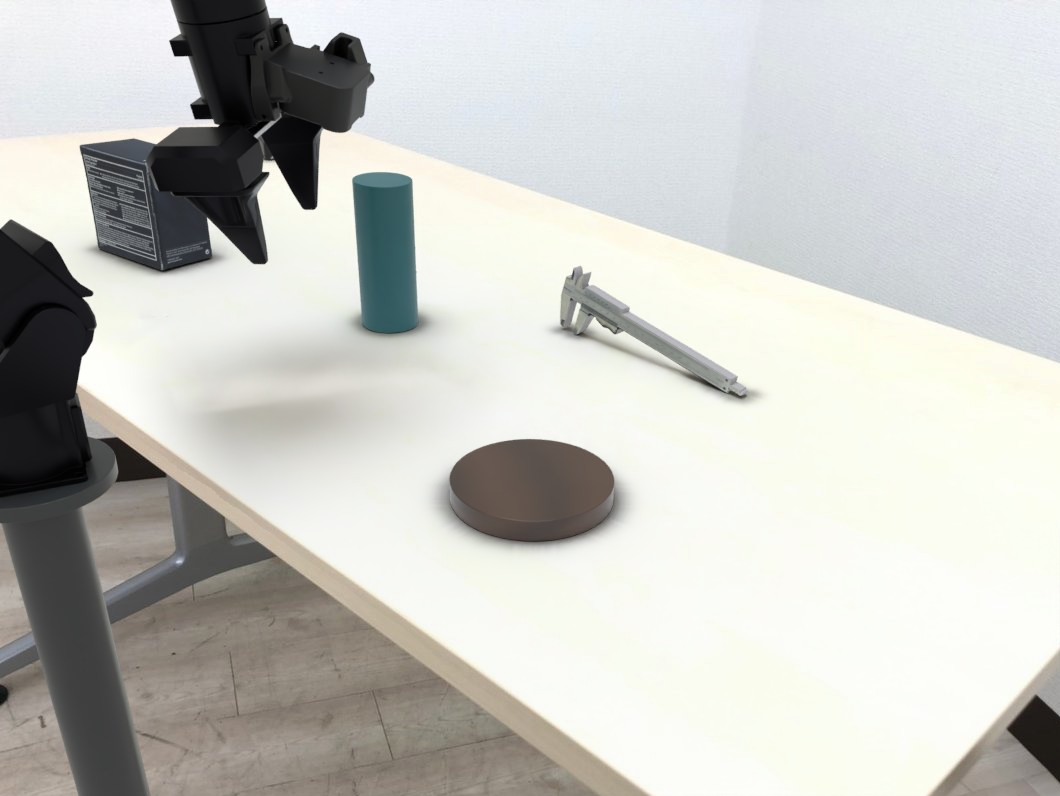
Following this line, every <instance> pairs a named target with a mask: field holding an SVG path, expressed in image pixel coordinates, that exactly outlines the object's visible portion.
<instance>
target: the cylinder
mask: <svg viewBox="0 0 1060 796" xmlns="http://www.w3.org/2000/svg"><path fill="white" fill-rule="evenodd" d="M351 183H352V184H351V185H352V197H353V198H352V199H353V212H354V213H353V215H354V225H355V226H354V227H355V228H354V229H355V240H356V241H355V242H356V255H357V267H358V268H357V270H358V271H357V272H358V283H359V284H358V285H359V299H360V312H361V324H362V326H363V328H365V329H367V330H369V331H372V332H375V333H383V334H396V333H403V332H407V331H410V330H412V329H414V328H416V327H417V326H418V325H419V309H418V308H419V307H418V305H419V304H418V286H417V285H418V284H417V283H418V281H417V258H416V257H417V255H416V235H415V234H416V233H415V232H416V231H415V213H414V212H415V211H414V209H415V208H414V207H415V206H414V188H413V185H414V184H413V178H412V177H410V176H409V175H406V174H403V173H398V172H388V171H373V172H364V173H360V174H356V175H355V176H353V177H352V180H351Z"/></svg>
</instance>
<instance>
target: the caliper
mask: <svg viewBox="0 0 1060 796" xmlns="http://www.w3.org/2000/svg"><path fill="white" fill-rule="evenodd" d="M591 276H592V271H589V272H585V273H584V270H583V267H582V265H579V266H575V267H573V269H572V273H571V274H570V275H567V276H565V279H564V282H563V283H564V284H563V286H562V290H561V294H560V310H559V324H560V326H561V327H562V328H567V327H570V326H571V325H572V323H573V318H574V315H575V310H576V307H577V304H579V305H580V307H579V310H578V313H577V316H576V321H575V325H574V326H575V328H574V330H573V335H574V336H576V335H578V334H582V333H584V332H586V331H587V329H588V328H589V325H590V324H591V323H592V321H593V319H594V318H595V320H596V322H598V323H599V324H600V325H601V327H602V328H605V329H608V330H609V331H610V332H611V333H612V335H618V334H620V333H623V332H624V333H626V334H628V335H630V336H632V337H633V338H635V339H636V340H638V341H640V342H641V343H643V344H645V345H646V346H648V347H649V348H651V349H653V350H654V351H656V352H657V353H659V354H661V355H663V356H664V357H666V358H667V359H669V360H671V361H673V362H674V363H676V364H677V365H678V366H681V367H682V368H684V369H685V370H686V371H689V373H692V374H694V375H695V376H697V377H698V378H700V379H702V380H703V381H705V382H706V383H708V384H709V385H711V386H712V387H714V388H716V389H717V390H719V391H721V392H722V393H724V394H729V393H731V392H732V393H734V394H736V395H738V396H744V395H746V394H748V393H749V390H748V389H747V387H746V386H745V385H743V384H741V383H740V382H739V381H738V377H739V376H738V375H736V374H734V373H733V372H731V371H730V370H728V369H727V368H724V367H723V366H722V365H720V364H718V363H716V362H715V361H714V360H712V359H710V358H708V357H706V356H705V355H703V354H701V353H700V352H698V351H697V350H695V349H694V348H692V347H690V346H688V345H687V344H685V343H684V342H681V341H680V340H678V339H676V338H674V337H673V336H671V335H669V334H668V333H666V332H665V331H663V330H662V329H660V328H658V327H656V326H654V325H653V324H651V323H650V322H648V321H646V320H645V319H643V318H641V317H640V316H638V315H637V314H634V313H633V312H631V311H630V308H631V307H630V306H629V305H628V304H626V303H624V302H622V301H620V300H619V299H617V298H616V297H614V296H612V295H611V294H609V293H608V292H606V291H604V290H602V289H601V288H600V287H598V286H596V285H595V284H592V285H590V284H589V282H590V280H591Z"/></svg>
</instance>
